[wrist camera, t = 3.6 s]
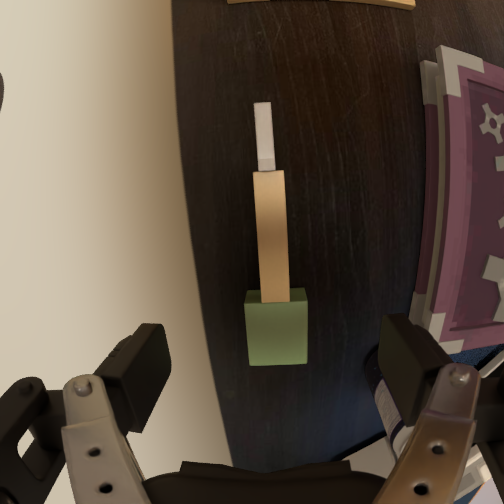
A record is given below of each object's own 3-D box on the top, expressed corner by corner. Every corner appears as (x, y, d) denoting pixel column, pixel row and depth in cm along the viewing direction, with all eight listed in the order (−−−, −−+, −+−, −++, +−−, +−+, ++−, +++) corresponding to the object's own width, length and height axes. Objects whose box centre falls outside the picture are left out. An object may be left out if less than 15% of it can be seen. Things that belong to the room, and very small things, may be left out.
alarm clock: (508, 334, 27) (564, 385, 16) (517, 375, 29) (560, 423, 17) (327, 457, 33) (337, 533, 21) (359, 481, 34) (371, 546, 23)
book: (415, 62, 21) (440, 45, 16) (531, 100, 20) (560, 95, 15) (402, 330, 28) (421, 357, 23) (513, 318, 27) (536, 337, 22)
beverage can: (394, 387, 29) (430, 467, 18) (352, 374, 29) (380, 463, 18) (423, 345, 28) (475, 420, 16) (381, 330, 28) (428, 412, 16)
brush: (304, 346, 29) (311, 392, 22) (251, 348, 29) (245, 395, 22) (296, 118, 24) (304, 100, 17) (234, 122, 24) (219, 106, 17)
